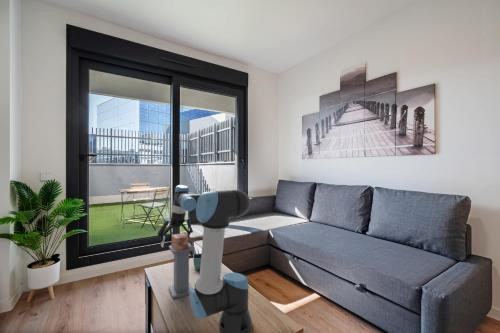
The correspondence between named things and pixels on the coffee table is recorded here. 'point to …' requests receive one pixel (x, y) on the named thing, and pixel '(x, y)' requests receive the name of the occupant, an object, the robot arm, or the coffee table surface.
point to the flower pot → (197, 261)
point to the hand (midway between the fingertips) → (174, 245)
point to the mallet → (183, 241)
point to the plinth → (181, 273)
